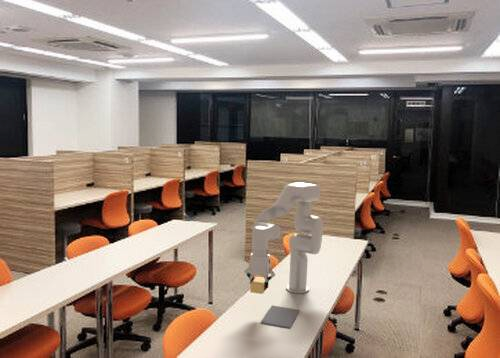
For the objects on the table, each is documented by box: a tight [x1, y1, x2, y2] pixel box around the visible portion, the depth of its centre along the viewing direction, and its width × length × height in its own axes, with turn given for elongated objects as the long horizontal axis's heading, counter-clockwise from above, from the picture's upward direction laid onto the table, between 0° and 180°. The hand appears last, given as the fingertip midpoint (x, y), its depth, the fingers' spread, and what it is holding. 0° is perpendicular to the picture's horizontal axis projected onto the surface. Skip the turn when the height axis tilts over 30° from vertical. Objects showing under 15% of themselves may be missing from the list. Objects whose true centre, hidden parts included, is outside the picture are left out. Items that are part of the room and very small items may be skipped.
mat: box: [260, 305, 300, 329], centre depth 216 cm, size 20×14×1 cm
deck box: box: [249, 276, 266, 295], centre depth 219 cm, size 9×6×4 cm, turn 162°
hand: (259, 287), depth 219 cm, fingers closed on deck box, 6 cm apart
